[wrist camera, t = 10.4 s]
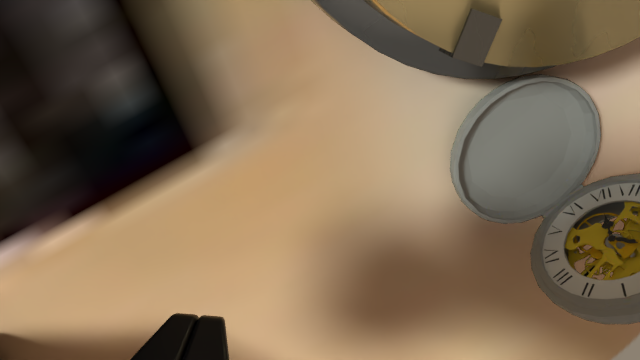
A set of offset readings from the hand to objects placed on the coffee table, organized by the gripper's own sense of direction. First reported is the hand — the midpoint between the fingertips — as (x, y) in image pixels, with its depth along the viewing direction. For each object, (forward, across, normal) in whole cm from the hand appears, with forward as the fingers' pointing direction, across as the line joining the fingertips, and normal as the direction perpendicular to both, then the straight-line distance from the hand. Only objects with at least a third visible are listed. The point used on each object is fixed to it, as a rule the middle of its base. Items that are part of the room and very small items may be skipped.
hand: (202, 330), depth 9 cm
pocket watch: (+15, -11, +5) cm, 19 cm away
